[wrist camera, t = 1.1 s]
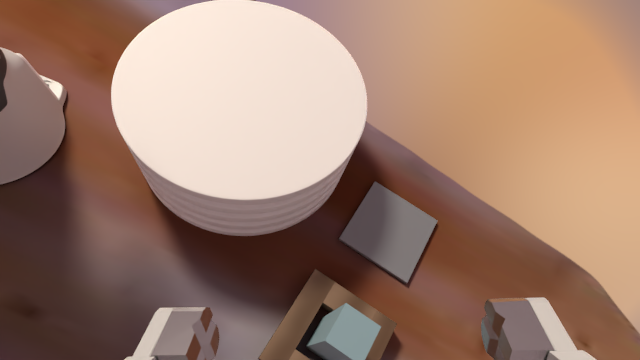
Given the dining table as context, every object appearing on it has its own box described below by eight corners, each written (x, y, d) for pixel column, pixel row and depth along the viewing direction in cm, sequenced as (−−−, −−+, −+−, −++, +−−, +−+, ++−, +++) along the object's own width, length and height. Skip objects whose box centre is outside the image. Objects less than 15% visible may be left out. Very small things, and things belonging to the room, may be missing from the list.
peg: (305, 346, 41) (324, 340, 31) (321, 317, 43) (346, 302, 32) (332, 365, 41) (361, 366, 30) (348, 336, 43) (381, 326, 32)
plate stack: (122, 81, 53) (92, 14, 43) (305, 50, 61) (316, -12, 51) (164, 267, 43) (139, 237, 33) (376, 200, 51) (407, 159, 41)
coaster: (338, 239, 48) (339, 238, 47) (373, 183, 52) (375, 181, 52) (405, 283, 47) (407, 282, 46) (435, 222, 51) (437, 220, 51)
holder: (258, 358, 40) (258, 358, 38) (312, 273, 45) (315, 268, 43) (344, 420, 39) (349, 423, 37) (389, 325, 44) (397, 323, 42)
